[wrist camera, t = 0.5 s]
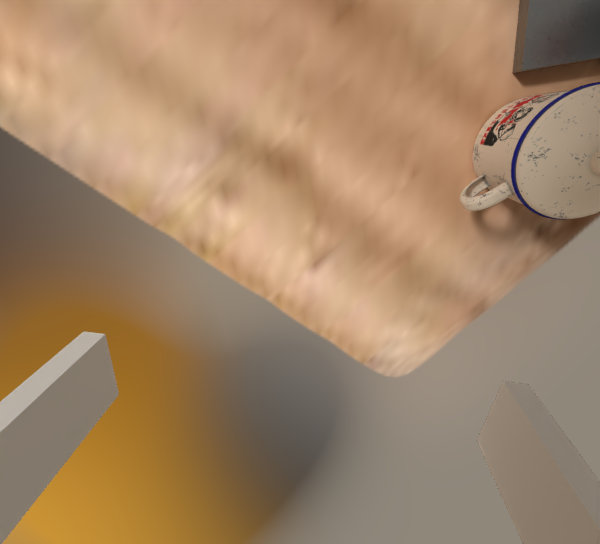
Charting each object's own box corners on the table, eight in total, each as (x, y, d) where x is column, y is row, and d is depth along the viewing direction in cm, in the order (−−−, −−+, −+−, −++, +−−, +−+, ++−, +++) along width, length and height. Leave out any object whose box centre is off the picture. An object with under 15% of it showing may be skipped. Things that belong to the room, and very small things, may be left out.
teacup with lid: (552, 68, 28) (686, 34, 17) (588, 159, 30) (723, 178, 20) (423, 155, 32) (468, 171, 21) (464, 229, 34) (522, 277, 24)
